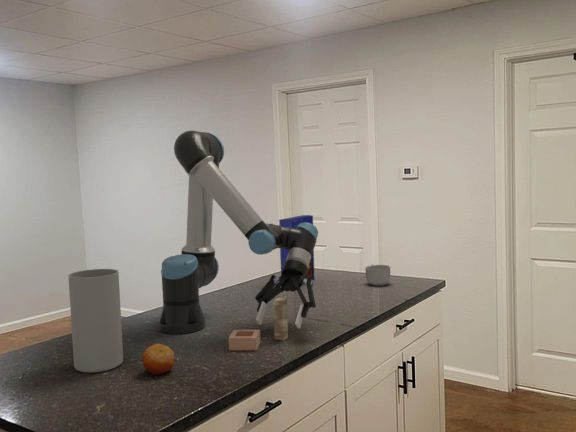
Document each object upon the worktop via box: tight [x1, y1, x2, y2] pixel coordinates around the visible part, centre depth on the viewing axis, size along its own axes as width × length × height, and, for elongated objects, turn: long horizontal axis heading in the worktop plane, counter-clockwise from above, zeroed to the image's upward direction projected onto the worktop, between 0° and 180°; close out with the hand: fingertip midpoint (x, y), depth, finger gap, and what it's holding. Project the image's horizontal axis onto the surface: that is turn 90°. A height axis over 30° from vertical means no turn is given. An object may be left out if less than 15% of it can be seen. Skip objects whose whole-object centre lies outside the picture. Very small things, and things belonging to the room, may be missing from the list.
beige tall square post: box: [273, 297, 289, 341], centre depth 165 cm, size 3×3×12 cm
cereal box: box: [278, 214, 315, 288], centre depth 245 cm, size 22×6×30 cm, turn 153°
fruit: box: [141, 343, 175, 376], centre depth 140 cm, size 8×8×8 cm
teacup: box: [364, 264, 391, 287], centre depth 240 cm, size 14×11×8 cm
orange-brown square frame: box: [228, 329, 261, 351], centre depth 159 cm, size 8×8×4 cm
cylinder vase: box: [68, 268, 124, 374], centre depth 145 cm, size 12×12×25 cm
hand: (277, 324), depth 163 cm, fingers open, 12 cm apart
